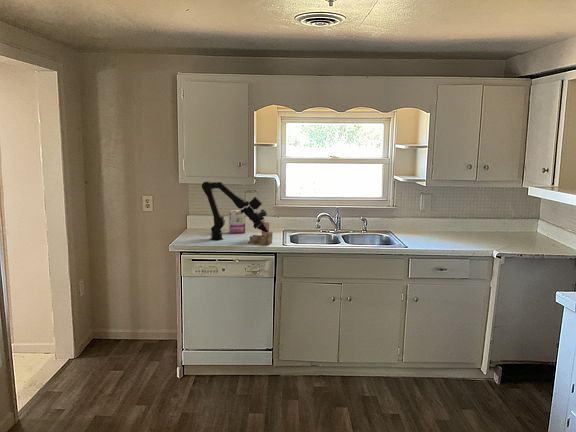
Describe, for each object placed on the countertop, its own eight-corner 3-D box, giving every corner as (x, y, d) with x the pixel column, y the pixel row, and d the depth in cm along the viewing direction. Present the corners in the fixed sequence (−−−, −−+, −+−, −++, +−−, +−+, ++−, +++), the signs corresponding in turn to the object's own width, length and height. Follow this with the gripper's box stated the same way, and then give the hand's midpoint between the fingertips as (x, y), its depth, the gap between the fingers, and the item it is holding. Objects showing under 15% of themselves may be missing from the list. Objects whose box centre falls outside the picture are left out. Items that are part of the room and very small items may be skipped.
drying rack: (247, 243, 307) (247, 232, 306) (252, 241, 314) (252, 230, 313) (268, 245, 303) (268, 233, 302) (272, 242, 310) (272, 231, 309)
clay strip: (261, 241, 315) (261, 221, 313) (261, 240, 317) (262, 221, 315) (269, 241, 315) (269, 222, 313) (269, 240, 317) (269, 221, 315)
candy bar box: (243, 232, 345) (243, 209, 343) (245, 233, 341) (245, 210, 338) (228, 232, 341) (228, 210, 338) (230, 234, 336) (230, 211, 334)
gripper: (258, 207, 303) (275, 225, 305) (261, 204, 322) (277, 220, 323) (246, 219, 305) (263, 237, 306) (249, 215, 323) (265, 231, 325)
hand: (267, 231), depth 315 cm, fingers open, 4 cm apart
